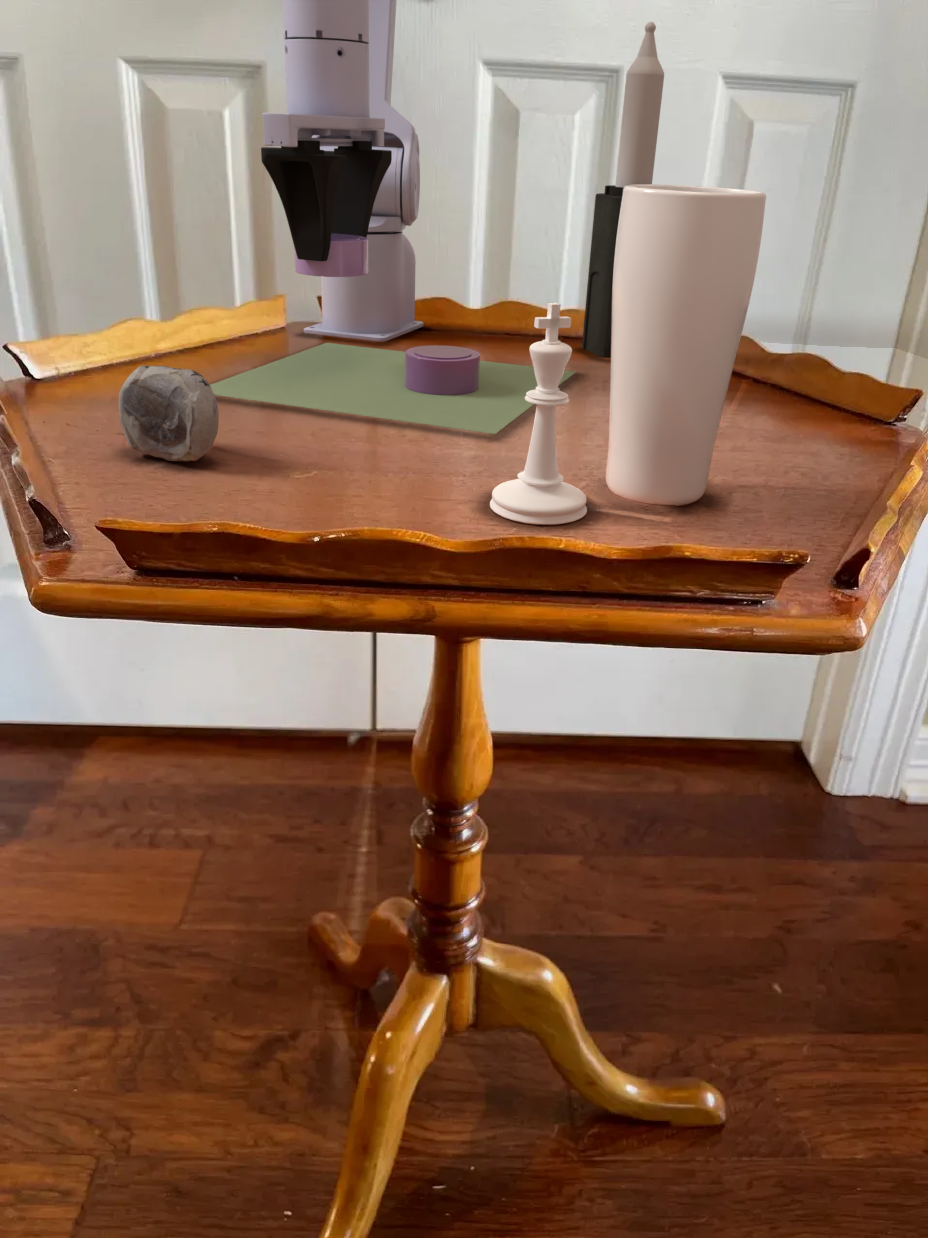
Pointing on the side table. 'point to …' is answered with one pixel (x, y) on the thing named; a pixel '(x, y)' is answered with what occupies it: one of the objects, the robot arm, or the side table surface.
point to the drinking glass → (676, 332)
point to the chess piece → (543, 441)
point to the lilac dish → (338, 258)
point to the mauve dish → (442, 370)
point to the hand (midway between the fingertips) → (331, 255)
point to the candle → (631, 169)
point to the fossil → (168, 413)
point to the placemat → (383, 388)
